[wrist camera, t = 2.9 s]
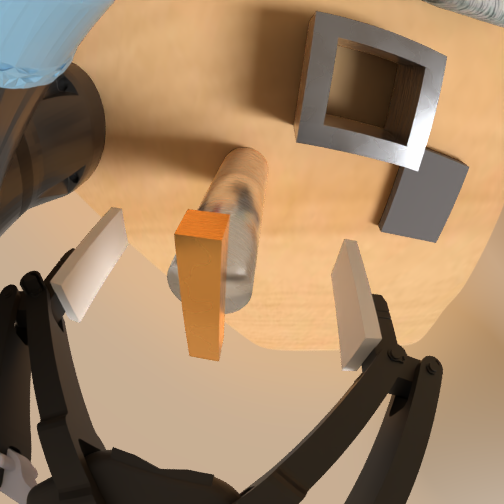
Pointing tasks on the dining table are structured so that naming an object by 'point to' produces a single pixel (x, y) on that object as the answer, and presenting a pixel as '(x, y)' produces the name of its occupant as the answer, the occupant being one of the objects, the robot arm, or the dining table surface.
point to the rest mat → (423, 197)
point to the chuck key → (219, 250)
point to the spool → (475, 9)
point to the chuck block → (402, 100)
